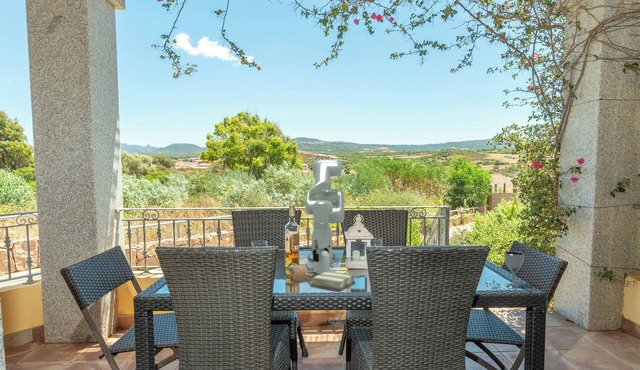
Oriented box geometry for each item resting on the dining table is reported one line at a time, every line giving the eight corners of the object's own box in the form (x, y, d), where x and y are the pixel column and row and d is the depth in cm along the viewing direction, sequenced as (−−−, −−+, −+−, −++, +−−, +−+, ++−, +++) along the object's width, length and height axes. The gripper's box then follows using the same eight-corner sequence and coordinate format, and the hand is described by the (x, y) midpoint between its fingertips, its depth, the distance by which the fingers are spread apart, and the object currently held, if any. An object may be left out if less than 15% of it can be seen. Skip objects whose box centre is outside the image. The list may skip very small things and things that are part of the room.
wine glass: (524, 284, 193) (525, 252, 192) (521, 289, 186) (522, 255, 185) (505, 282, 197) (506, 250, 196) (502, 286, 191) (502, 253, 190)
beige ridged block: (327, 278, 204) (327, 270, 204) (355, 283, 196) (355, 274, 196) (310, 286, 192) (310, 277, 191) (339, 291, 184) (339, 282, 184)
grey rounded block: (311, 272, 216) (311, 248, 216) (318, 271, 219) (317, 247, 218) (324, 276, 208) (324, 251, 208) (331, 275, 211) (330, 250, 210)
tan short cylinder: (298, 278, 205) (298, 264, 205) (308, 280, 202) (308, 265, 202) (291, 281, 200) (291, 266, 200) (301, 283, 197) (301, 268, 197)
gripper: (323, 223, 222) (323, 256, 222) (305, 227, 207) (305, 262, 207) (335, 224, 218) (336, 257, 218) (318, 228, 203) (318, 263, 203)
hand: (321, 259), depth 213 cm, fingers open, 9 cm apart
